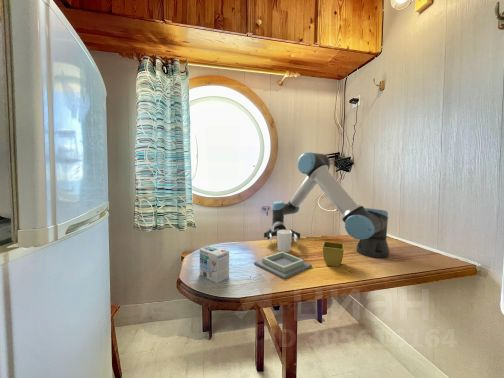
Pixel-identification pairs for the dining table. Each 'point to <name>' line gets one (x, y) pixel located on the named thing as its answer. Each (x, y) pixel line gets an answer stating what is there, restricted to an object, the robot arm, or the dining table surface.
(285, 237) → the white cup
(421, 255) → the dining table surface
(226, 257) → the light bulb box
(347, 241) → the dining table surface
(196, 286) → the dining table surface
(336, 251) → the flower pot
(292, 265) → the holder tray
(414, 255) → the dining table surface
